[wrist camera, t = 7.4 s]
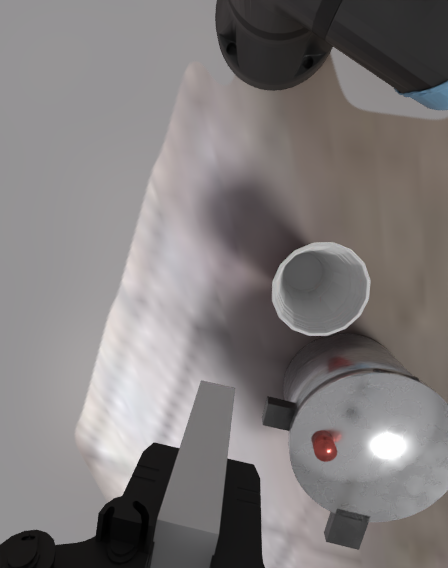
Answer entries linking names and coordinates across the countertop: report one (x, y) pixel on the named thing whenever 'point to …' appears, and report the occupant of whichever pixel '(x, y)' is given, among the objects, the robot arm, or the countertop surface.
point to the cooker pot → (324, 371)
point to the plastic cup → (320, 289)
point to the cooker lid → (370, 449)
